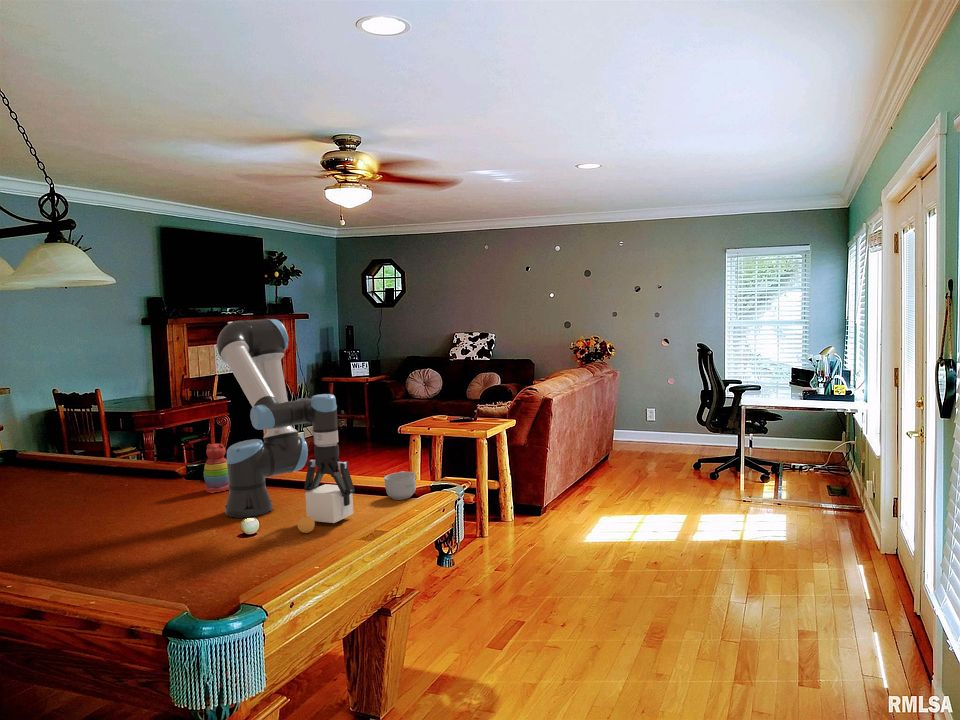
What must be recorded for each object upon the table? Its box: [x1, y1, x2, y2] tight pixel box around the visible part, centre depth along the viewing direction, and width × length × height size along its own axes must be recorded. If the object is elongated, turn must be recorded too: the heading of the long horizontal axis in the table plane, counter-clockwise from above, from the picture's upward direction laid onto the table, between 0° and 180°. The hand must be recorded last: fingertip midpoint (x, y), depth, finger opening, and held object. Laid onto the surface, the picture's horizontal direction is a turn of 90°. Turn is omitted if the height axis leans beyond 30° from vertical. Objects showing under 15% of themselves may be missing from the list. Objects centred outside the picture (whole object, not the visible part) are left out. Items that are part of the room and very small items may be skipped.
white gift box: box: [304, 483, 354, 524], centre depth 230 cm, size 10×10×9 cm
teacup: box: [383, 470, 417, 501], centre depth 257 cm, size 14×11×8 cm
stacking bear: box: [203, 443, 229, 491], centre depth 277 cm, size 11×10×18 cm
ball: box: [297, 515, 316, 534], centre depth 220 cm, size 5×5×5 cm
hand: (330, 514), depth 231 cm, fingers closed on white gift box, 10 cm apart
